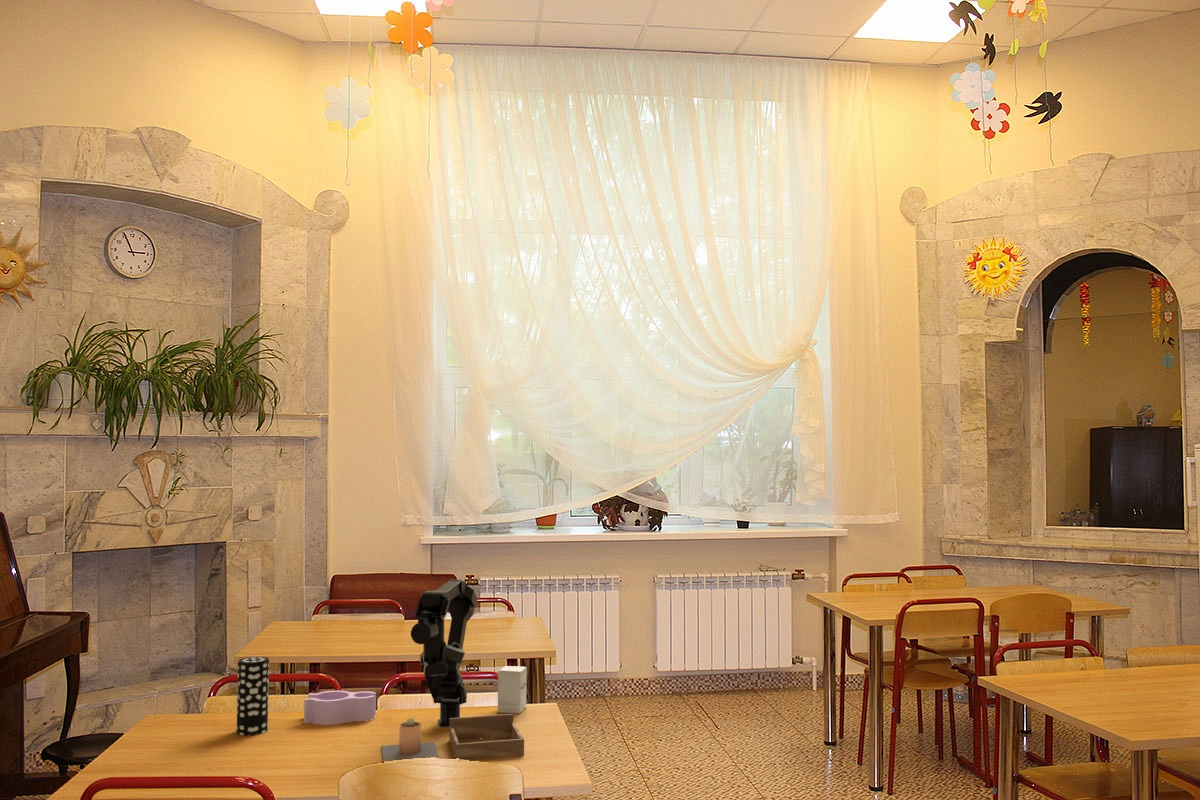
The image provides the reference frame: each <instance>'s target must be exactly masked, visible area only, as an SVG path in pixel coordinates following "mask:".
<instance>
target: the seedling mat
mask: <svg viewBox="0 0 1200 800" xmlns="http://www.w3.org/2000/svg"><path fill="white" fill-rule="evenodd" d="M436 746H437V745H436V743H435V741H430V742H429V741H425V742H421V751H420V753H418V754H414V755H402V754H400V753H399V744H387V745H381V757H382V763H383V762H384V761H393V760H402V759H413V758H427V757H428V758H430V757H437V758H439V759H440V756H439V753H438V749H437V747H436Z"/></svg>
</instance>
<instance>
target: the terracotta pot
mask: <svg viewBox="0 0 1200 800" xmlns="http://www.w3.org/2000/svg"><path fill="white" fill-rule="evenodd" d="M421 728H422V724H421V722H418V721H415V720H414V719H413V718H412V717H409V718H407V719H406V721H405V722H402V723H399V728H398V729H399V732H398V734H399V739H398V740H399V741H398V745H399V753H400V754H402V755H414V754H418V753H420V751H421V743H422V742H421V738H422V734H421V733H422V729H421Z"/></svg>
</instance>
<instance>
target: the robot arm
mask: <svg viewBox="0 0 1200 800" xmlns="http://www.w3.org/2000/svg"><path fill="white" fill-rule="evenodd" d="M477 605H478V597H477V595H476V592H475V589H473V588H471V587H470V586H469V585H467V584H466V582H465V580H462V579H449V580H447V581H446V583H444V584H442V585H441V586H439V588H437V589H436V590H434V589H433V590H426V591H423V592H422V593H421V595H420V596H419V600H418V603H417V607H416V612H415V616H414V617H415V618H414V619H417V623H415V624H414V625H413V626H412V628H411V629H410V637H411V640H412V641H413V642H414V643H415V644H417V645H422V648H423V649H422V652H421V653H420V654H419V662H420V667H421V669H422V672H423V675H424V678H425V681H426V684H427V687H428V689H429V692H430V694H431V698H432V699H433V704H439V706H440V707H439V710H440V711H439V719H437V722H438V723H437V724H438V726H439V727H440V728H443V727H444V728H445V726H446V727H449V724H450V718H460V717H461V705H464V704H466V703H467V698H468V696H467V695H468V693H467V690H466V688H465V684H464V679H463V675H462V674H461V672H460V666H461V664H462V662H463V659H464V657H465V654H466V652H465V651H464V649H463V648H464V642H465V635H466V629H467V623H468V622H469V620H471V618H472V617H473V616H474V613H475V609H476V607H477ZM447 613H449V615H450V618H451V621H450V627H449V633H448V638H447V643H446V641H445V640H446V639H445V618H446V616H447Z"/></svg>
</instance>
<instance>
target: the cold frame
mask: <svg viewBox="0 0 1200 800" xmlns="http://www.w3.org/2000/svg"><path fill="white" fill-rule="evenodd" d="M448 727H449V731H448V732H449V738H448V741H449V740H450V741H449V744H450V743H451V744H450V747H451V746H452V747H451V750H452V749H453V750H452V751H453V755H454V754H455V755H454V758H455V759H456V758H459V759H470V760H478V759H479V758H482V759H490V758H503V757H505V758H506V757H515V756H516V755H518V756H525V739H524V737H523V735H522V734H521V732H520V730H519V729H518V727H517V725H516V724H515V722H514V713H504V714H492V715H491V714H490V715H478V716H476V715H475V716H463V717H461V716H460V718H450V724H449V726H448ZM508 736H511V737H510V738H511V739H501V740H500V739H499V740H488V741H475V742H464V743H463V742H461V743H460V741H458V740H461V741H468V740H467V739H474V740H481V739H480V738H487V739H492V738H491V737H499V738H509V737H508ZM455 756H456V757H455ZM516 757H517V756H516ZM479 760H480V759H479Z"/></svg>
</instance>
